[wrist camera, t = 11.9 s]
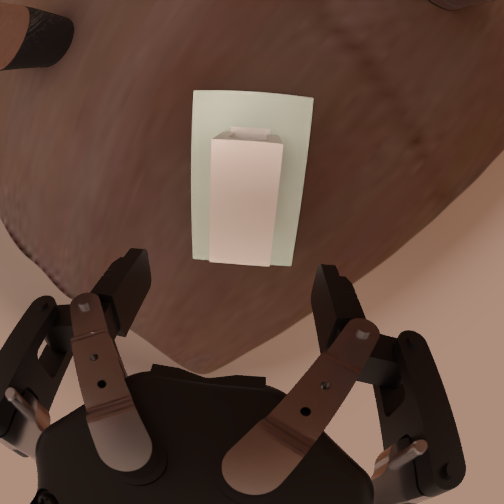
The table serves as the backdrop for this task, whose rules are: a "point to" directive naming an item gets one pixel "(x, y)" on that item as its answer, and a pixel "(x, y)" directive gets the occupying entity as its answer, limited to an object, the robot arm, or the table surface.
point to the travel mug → (32, 37)
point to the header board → (251, 127)
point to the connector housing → (243, 198)
